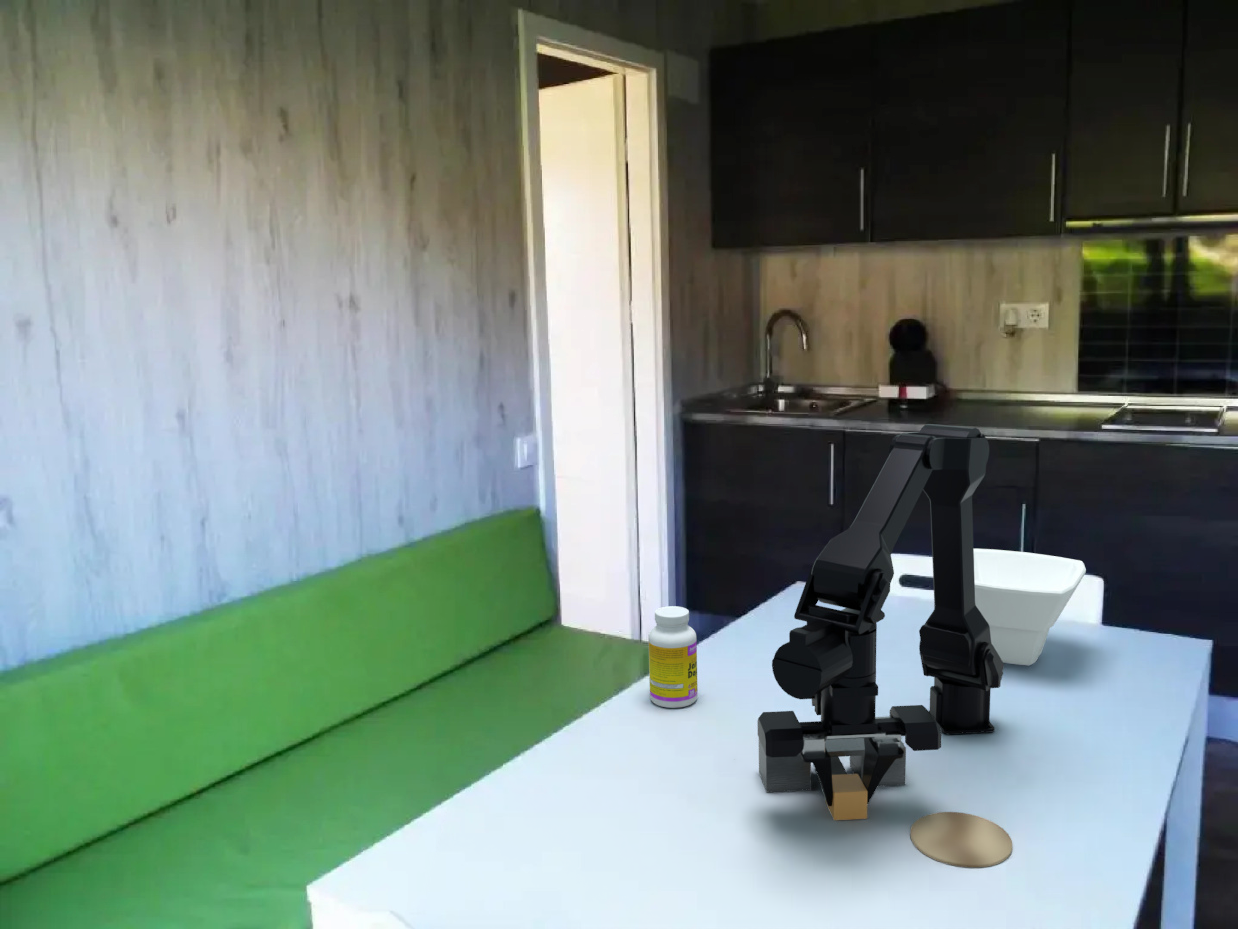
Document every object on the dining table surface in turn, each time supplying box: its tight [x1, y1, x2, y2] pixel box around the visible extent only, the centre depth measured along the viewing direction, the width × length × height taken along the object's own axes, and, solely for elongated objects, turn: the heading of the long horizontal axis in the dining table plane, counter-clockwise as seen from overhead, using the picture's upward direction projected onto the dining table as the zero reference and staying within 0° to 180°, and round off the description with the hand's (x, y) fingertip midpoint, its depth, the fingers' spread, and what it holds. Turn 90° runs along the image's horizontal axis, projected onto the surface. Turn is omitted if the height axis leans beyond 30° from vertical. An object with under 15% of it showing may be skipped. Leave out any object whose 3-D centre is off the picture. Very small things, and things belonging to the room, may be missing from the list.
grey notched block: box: [758, 738, 907, 793], centre depth 122 cm, size 16×5×5 cm, turn 92°
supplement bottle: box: [647, 605, 698, 709], centre depth 145 cm, size 7×7×13 cm
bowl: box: [974, 548, 1087, 666], centre depth 156 cm, size 19×19×14 cm
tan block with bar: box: [824, 757, 868, 821], centre depth 119 cm, size 4×13×3 cm, turn 2°
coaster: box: [909, 811, 1013, 869], centre depth 109 cm, size 10×10×1 cm
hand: (847, 803), depth 115 cm, fingers closed on tan block with bar, 4 cm apart
